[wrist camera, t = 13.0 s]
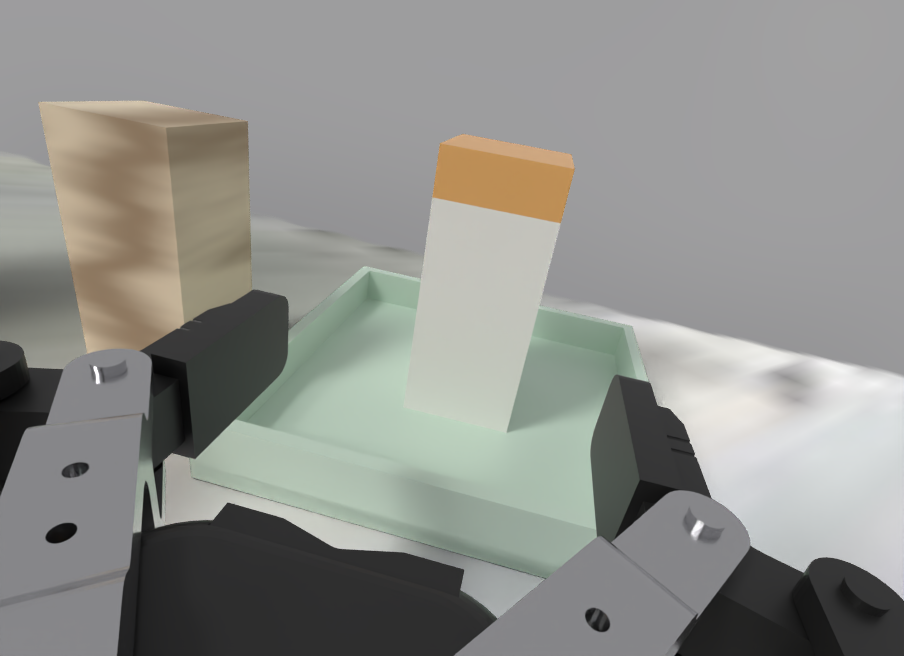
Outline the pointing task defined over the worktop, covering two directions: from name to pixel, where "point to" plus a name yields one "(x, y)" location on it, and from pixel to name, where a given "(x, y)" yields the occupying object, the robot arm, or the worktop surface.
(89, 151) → the plain box
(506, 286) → the labelled box
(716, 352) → the worktop surface
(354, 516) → the tray
